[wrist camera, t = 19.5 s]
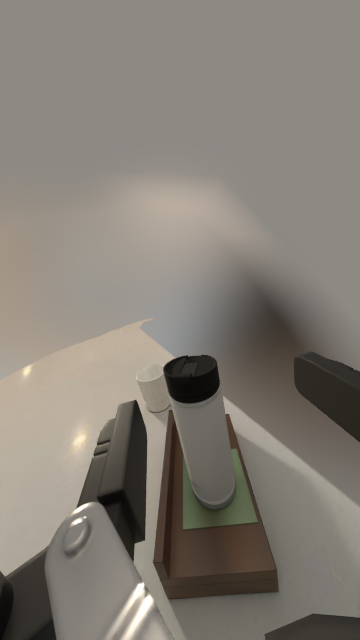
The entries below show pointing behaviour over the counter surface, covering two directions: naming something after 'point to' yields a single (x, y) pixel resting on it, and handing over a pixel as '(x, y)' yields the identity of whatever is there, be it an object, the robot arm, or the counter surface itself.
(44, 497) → the counter surface
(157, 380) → the white cup
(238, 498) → the wooden coaster base
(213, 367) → the travel mug
